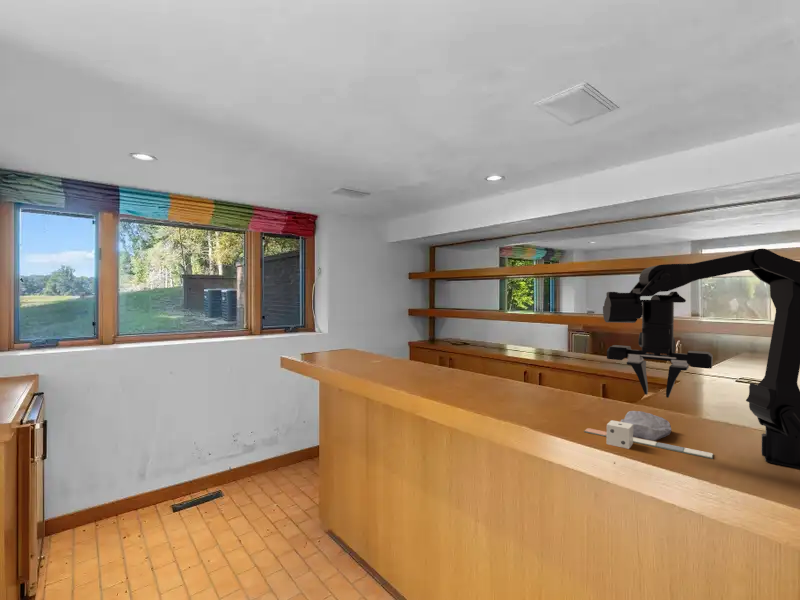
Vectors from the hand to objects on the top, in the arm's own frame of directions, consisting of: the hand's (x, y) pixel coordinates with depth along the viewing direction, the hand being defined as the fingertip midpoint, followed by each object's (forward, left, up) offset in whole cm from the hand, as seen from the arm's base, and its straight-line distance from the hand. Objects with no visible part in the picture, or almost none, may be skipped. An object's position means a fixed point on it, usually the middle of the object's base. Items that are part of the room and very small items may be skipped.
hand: (656, 395), depth 86 cm
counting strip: (+3, -4, -12) cm, 13 cm away
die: (+7, 0, -12) cm, 14 cm away
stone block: (+4, -13, -12) cm, 18 cm away
